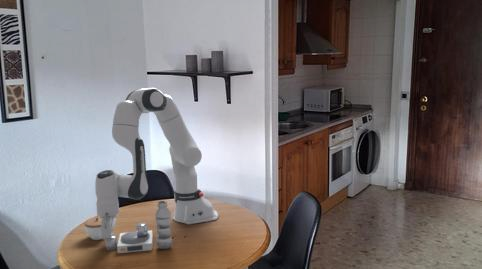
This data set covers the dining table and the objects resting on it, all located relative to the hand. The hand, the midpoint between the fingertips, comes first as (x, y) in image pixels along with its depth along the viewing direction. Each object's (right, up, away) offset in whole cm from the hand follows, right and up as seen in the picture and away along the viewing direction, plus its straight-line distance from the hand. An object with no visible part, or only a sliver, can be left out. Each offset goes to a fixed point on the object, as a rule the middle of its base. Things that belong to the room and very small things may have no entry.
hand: (109, 240), depth 179 cm
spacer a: (+1, -3, 0) cm, 3 cm away
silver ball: (+13, +1, +3) cm, 14 cm away
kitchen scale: (+10, -2, +3) cm, 11 cm away
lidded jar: (-9, -2, +12) cm, 15 cm away
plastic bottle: (+23, -3, 0) cm, 23 cm away
